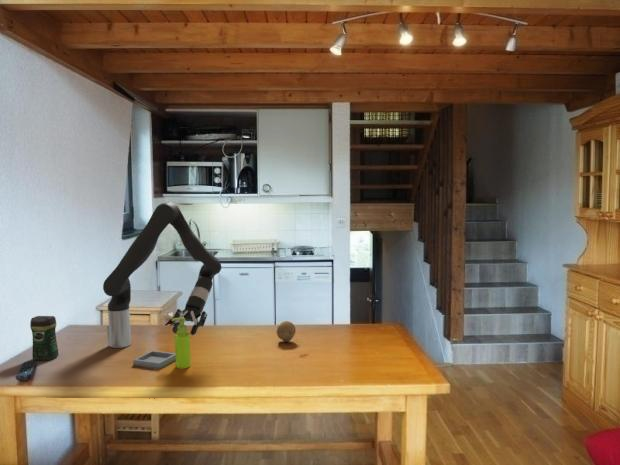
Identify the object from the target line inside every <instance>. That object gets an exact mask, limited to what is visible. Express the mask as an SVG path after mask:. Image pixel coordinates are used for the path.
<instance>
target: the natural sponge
mask: <svg viewBox="0 0 620 465" xmlns="http://www.w3.org/2000/svg"><path fill="white" fill-rule="evenodd" d="M296 332H297V330H296V326H295V325H294V323H293V322H291V321H287V320H285V321H283V322H281V323H280V324H279V325H278V326H277V328H276V334H277V338H279V339H280V340H282V341H283V342H285V343H289V342H291V340H292V339H293V338H294V337H295V334H296Z"/></svg>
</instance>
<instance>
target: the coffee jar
mask: <svg viewBox="0 0 620 465" xmlns="http://www.w3.org/2000/svg"><path fill="white" fill-rule="evenodd" d="M29 328H30V330H31V335H32V351H31V352H32V355H31V356H32V360H33V361H50V360H54V359H56V358H58V356H59V347H58V341H57V335H56V328H57V319H56V317H55V316H54V315H36V316H33V317H31V319H30V327H29Z"/></svg>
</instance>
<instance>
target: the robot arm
mask: <svg viewBox="0 0 620 465" xmlns="http://www.w3.org/2000/svg"><path fill="white" fill-rule="evenodd" d="M169 225H171V226H172V228H174V229H175V231H176V232H177V234H178V236H179V238H180V240H181V242H182V245H183V246H184V248H185V250H186V251H187V253H188V254H189V255H190V256H191V257H192V259H193V260H194V261H196V262H201V263H202V265H201V267H200V269H199V272H198V277H197V280H196V282H195V285H194V287H193V289H192V290H191V293H190V294H189V297H188V298H187V301H186V303H185V308H184V309H183V310H182V309H180V308H177V310H176V311H175V314H174V315H173V317H172V319H174V318H185V321H184V323H185V322H191V323H193V325H192V328H191V329H190V333H189V334H190V336H195V335H196V333H197V331H198V328H200V327H204V326H205V324H206V320H207V318H208V317H207V316H208V313H207V312H206V311H205V310H204V308H205V306H206V304H207V302H208V300H209V295H210V293H211V290H212V287H213V285H214V284H213V279H214V277H215V276H216V275H217V274H220V273H221V271H222V264H221V262H220V260H219V259H218V258H217V257H216V256H215V255H214V254H212V253H211V252H210V251H208V250H207V248H206V247H205V246H204V245H203V243H202V242H201V241H200V239H199V238H198V236H196V234H195V232H194V231H193V229H192V228H191V227H190V225H189V224H188V221H187V220H186V218H185V217H184V215H183V213H182V211H181V209H180V207H179V205H178V204H176V203H174V202H171V201H167V202H162V203H160V204H158V205H157V206H156V208H155V209H154V211H153V212H152V215H151V216H150V218H149V220H148V222H147V224H146V225H145V226H144V227H143V229H142V230H141V231H140V232H139V234H138V235H137V237H136V238H135V239H134V241H132V244H131V245H130V246H129V248H128V249H127V251H126V253H125V254H124V256H122V258H121V260H120V261H119V263H118V265H117V266H116V267H115V268H114V269H113V271H111V273H110V274H109V275H108V276H107V277H106V279H105V280H104V282H103V285H102V290H103V292H104V294H105V295H106V296H109V297H111V299H110V301H109V302H108V304H107V316H108V318H107V319H108V325H107V326H106V331H107V332H106V334H107V335H106V336H107V346H108V347H110V348H112V349H122V348H126V347H129V346H130V345H131V344H132V340H131V335H132V334H131V320H130V319H131V317H130V316H131V315H130V314H131V313H130V304H131V300H132V298H131V297H132V296H131V293H132V290H131V288H132V286H131V281H130V276H131V275H133V273H134V272H135V271H137V270H138V269H139V268H140V267H141V266H142V265H144V263H145V262H146V261H147V260H148V259H149V257H150V256H151V254H152V253H153V252H154V250H155V248H156V245H157V243H158V240H159V237H160V235H161V234H162V233H163V231H164V230H165V229H166V227H168V226H169ZM198 318H199V319H198ZM172 323H173V324H174V325H173V328H172V329H171V330H172V333H174V334H178V326H179V325H180V320H176V321H172Z"/></svg>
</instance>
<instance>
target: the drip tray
mask: <svg viewBox="0 0 620 465" xmlns="http://www.w3.org/2000/svg"><path fill="white" fill-rule="evenodd" d="M173 362H176V354H175V352H168V351H159V350H150V351H148V352H146V353H144V354H142V355H140V356H138V357H136V358H134V359H132V364H133V366H135V367H142V368H147V369H156V370H161V369H163V368H164V367H166V366H168V365H171V364H172V363H173Z"/></svg>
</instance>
